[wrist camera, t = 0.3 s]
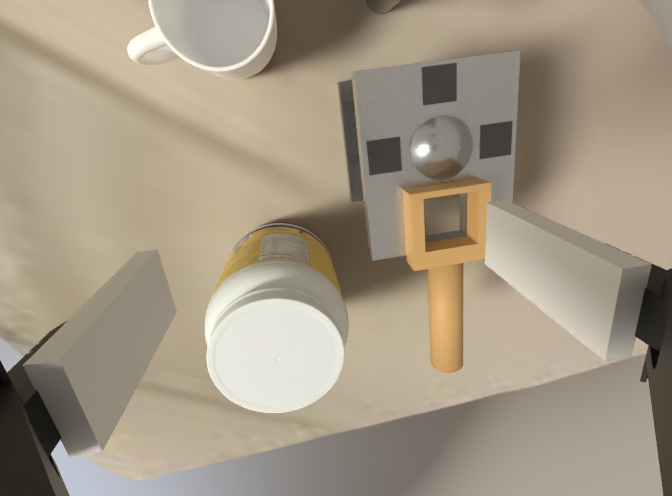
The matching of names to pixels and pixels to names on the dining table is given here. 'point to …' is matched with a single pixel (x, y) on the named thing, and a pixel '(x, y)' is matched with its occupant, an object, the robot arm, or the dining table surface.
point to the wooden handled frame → (446, 263)
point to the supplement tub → (276, 321)
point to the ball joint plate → (428, 136)
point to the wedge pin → (381, 5)
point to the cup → (210, 35)
